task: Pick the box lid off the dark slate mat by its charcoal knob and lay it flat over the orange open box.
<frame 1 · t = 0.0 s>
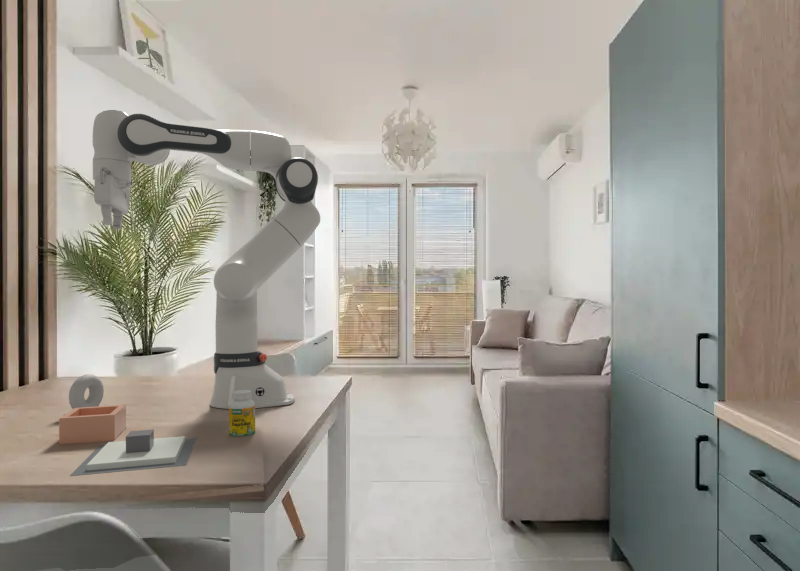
hand: (112, 227, 139), 48 cm above the table, tool pointing down, fingers open, 8 cm apart
supplement bottle: (242, 437, 113), on the table
box lid: (140, 454, 99), point 1 cm above the table, touching mat
orange open box: (94, 439, 112), on the table
donut: (86, 414, 137), on the table
mat: (140, 458, 99), on the table
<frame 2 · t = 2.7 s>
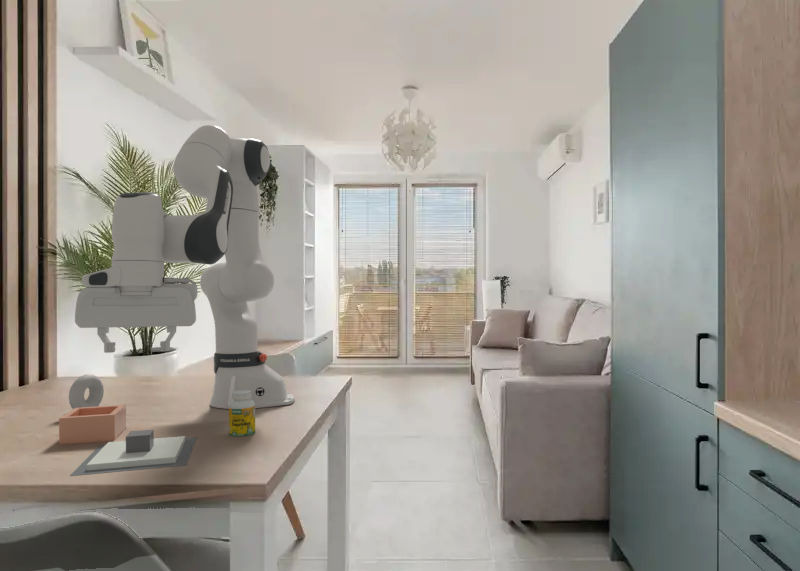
hand: (137, 351, 99), 20 cm above the table, tool pointing down, fingers open, 8 cm apart
nothing on the table moved.
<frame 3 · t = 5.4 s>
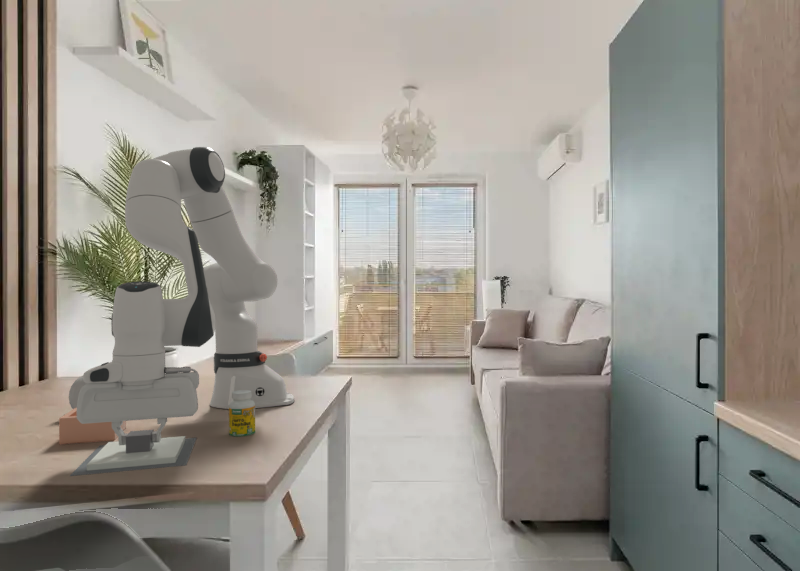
hand: (140, 443, 99), 3 cm above the table, tool pointing down, fingers closed on box lid, 4 cm apart
box lid: (140, 454, 99), point 1 cm above the table, touching gripper, mat
everything else where it was.
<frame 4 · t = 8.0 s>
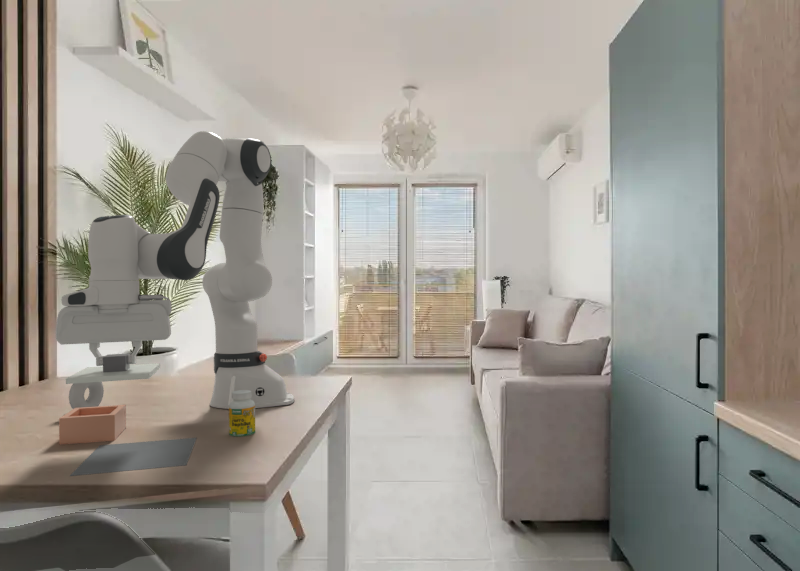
hand: (116, 364, 106), 17 cm above the table, tool pointing down, fingers closed on box lid, 4 cm apart
box lid: (116, 375, 106), point 14 cm above the table, touching gripper
everything else where it was.
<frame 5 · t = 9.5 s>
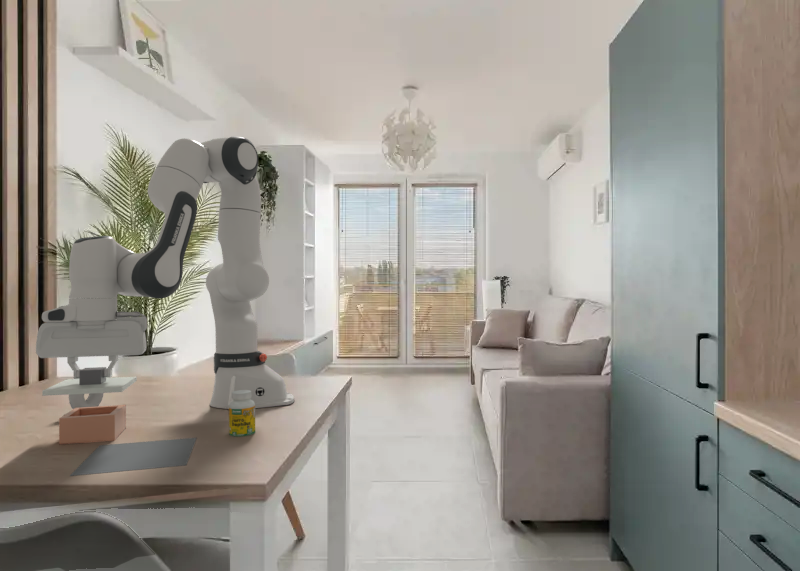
hand: (93, 377, 112), 13 cm above the table, tool pointing down, fingers closed on box lid, 4 cm apart
box lid: (93, 387, 112), point 11 cm above the table, touching gripper
everything else where it was.
when the fingers open (10 cm above the table, at t = 10.8 s): box lid drops 1 cm, resting on orange open box.
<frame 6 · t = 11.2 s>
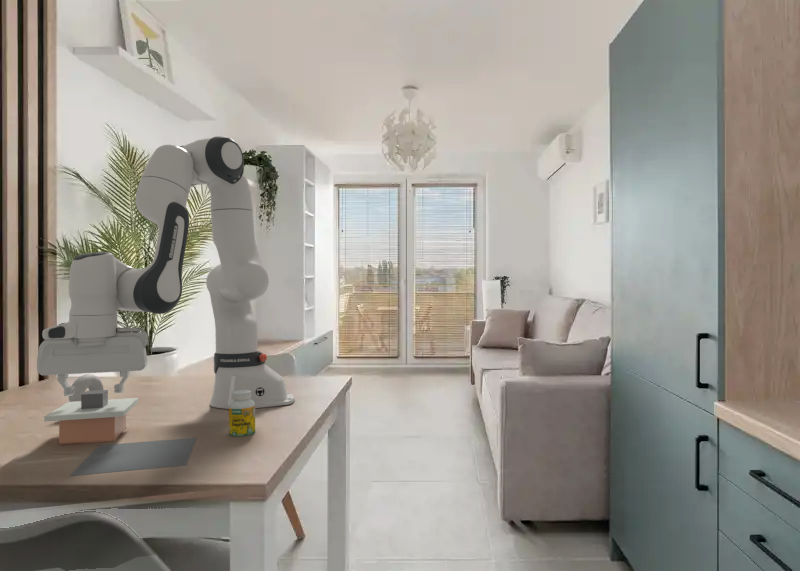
hand: (94, 394, 112), 10 cm above the table, tool pointing down, fingers open, 8 cm apart
box lid: (94, 411, 112), point 6 cm above the table, touching orange open box
everything else where it was.
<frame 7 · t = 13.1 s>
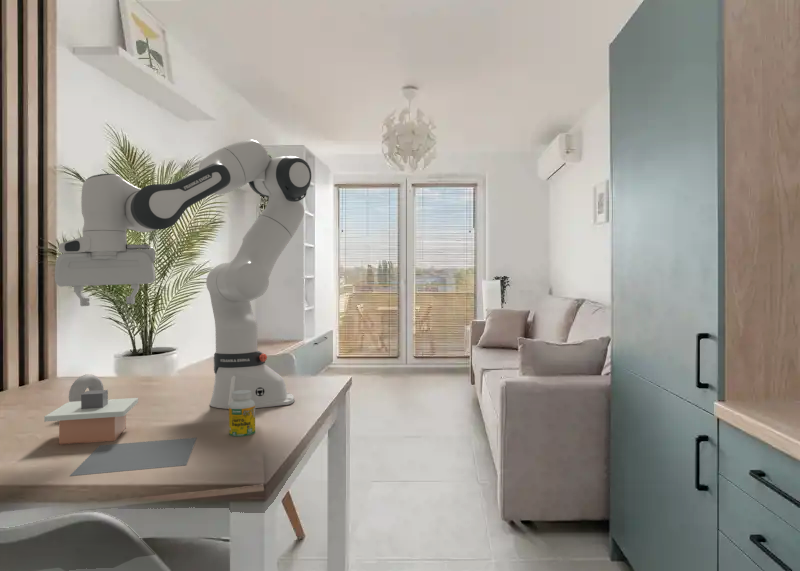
hand: (108, 305, 122), 28 cm above the table, tool pointing down, fingers open, 8 cm apart
nothing on the table moved.
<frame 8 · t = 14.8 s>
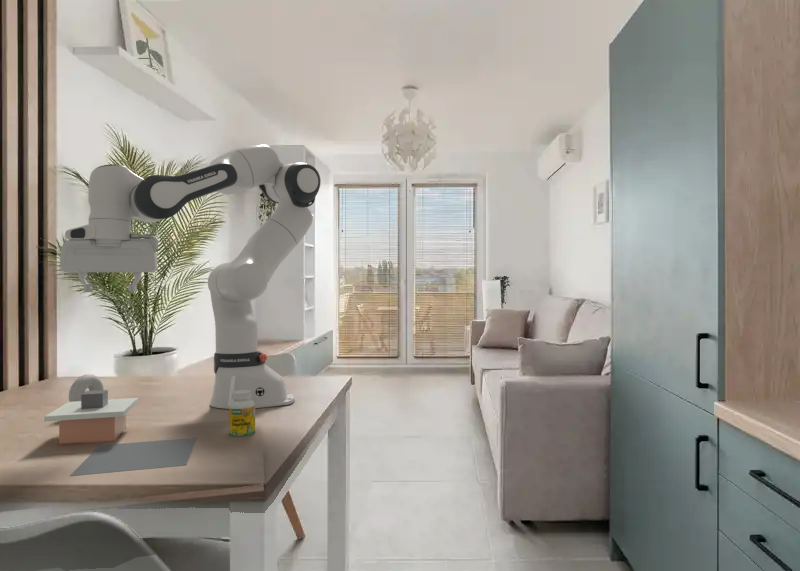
hand: (110, 291, 126), 31 cm above the table, tool pointing down, fingers open, 8 cm apart
nothing on the table moved.
at the end: box lid 0.1 cm off-centre on the orange open box, point 6.0 cm above the orange open box's base; box lid tilted 0°; the gripper is holding nothing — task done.
